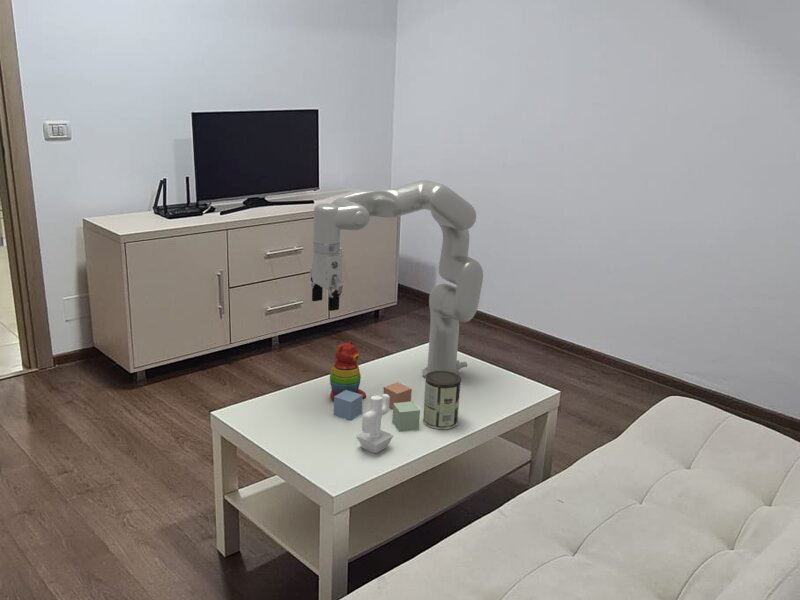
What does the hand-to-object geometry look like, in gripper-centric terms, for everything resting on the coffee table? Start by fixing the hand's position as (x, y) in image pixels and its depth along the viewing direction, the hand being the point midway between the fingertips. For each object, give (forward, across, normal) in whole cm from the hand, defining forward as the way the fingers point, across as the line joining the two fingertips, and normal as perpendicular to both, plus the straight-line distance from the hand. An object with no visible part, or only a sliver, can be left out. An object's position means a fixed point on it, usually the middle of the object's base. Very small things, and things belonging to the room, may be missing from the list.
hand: (325, 305), depth 215 cm
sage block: (+31, -24, -14) cm, 42 cm away
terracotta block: (+31, -12, -19) cm, 38 cm away
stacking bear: (+31, 0, -8) cm, 32 cm away
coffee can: (+31, -27, -24) cm, 48 cm away
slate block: (+31, -10, -3) cm, 33 cm away
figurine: (+31, -31, +1) cm, 44 cm away
